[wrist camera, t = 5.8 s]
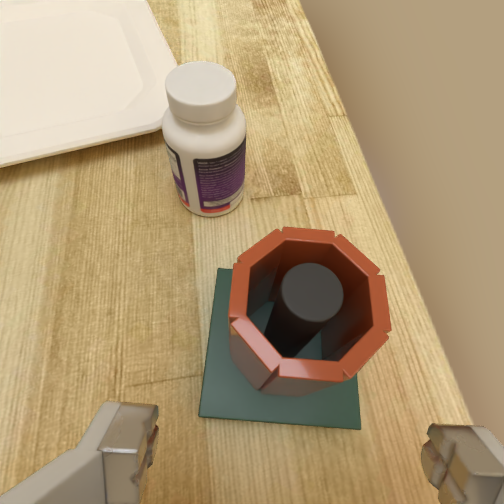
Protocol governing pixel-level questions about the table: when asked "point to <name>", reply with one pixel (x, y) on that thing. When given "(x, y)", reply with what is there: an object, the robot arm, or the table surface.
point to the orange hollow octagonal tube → (332, 334)
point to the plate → (78, 75)
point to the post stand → (288, 345)
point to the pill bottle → (205, 137)
